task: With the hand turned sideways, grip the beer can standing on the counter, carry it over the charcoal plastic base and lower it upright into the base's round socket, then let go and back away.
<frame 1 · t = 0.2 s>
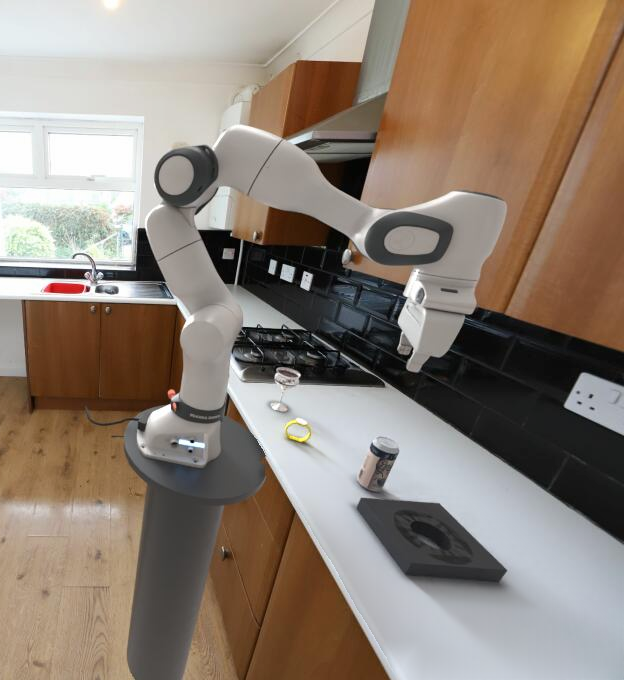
hand: (406, 361, 67), 31 cm above the worktop, tool pointing down, fingers open, 8 cm apart
wineglass: (278, 407, 108), on the worktop
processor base: (420, 541, 67), on the worktop
beer can: (368, 485, 80), on the worktop
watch: (295, 440, 94), on the worktop
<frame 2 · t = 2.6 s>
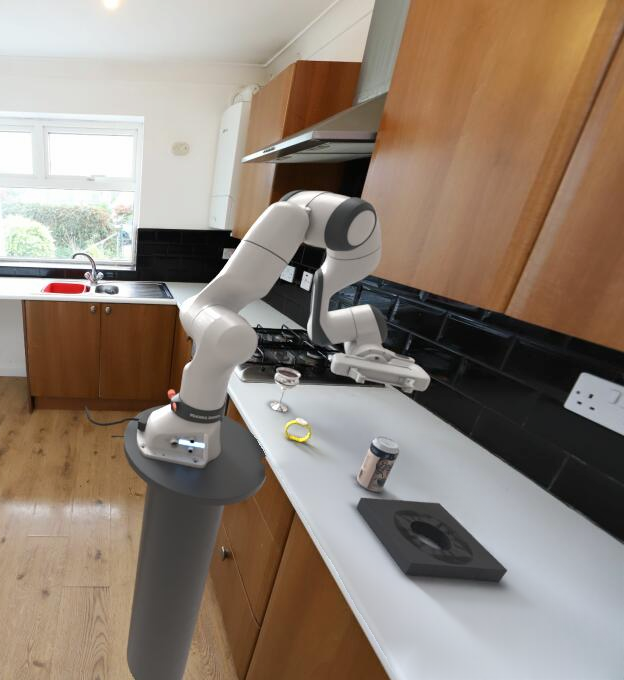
hand: (384, 384, 82), 20 cm above the worktop, tool horizontal, fingers open, 8 cm apart
nothing on the worktop moved.
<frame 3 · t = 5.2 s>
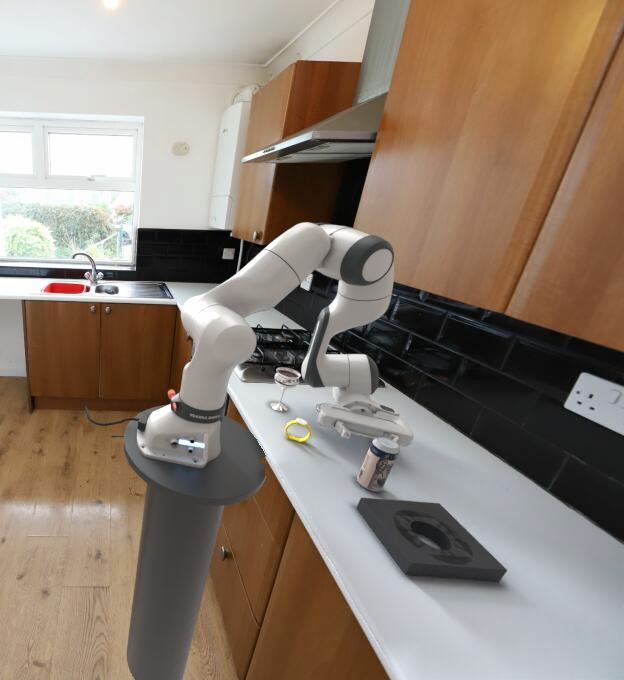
hand: (369, 441, 84), 7 cm above the worktop, tool horizontal, fingers open, 8 cm apart
nothing on the worktop moved.
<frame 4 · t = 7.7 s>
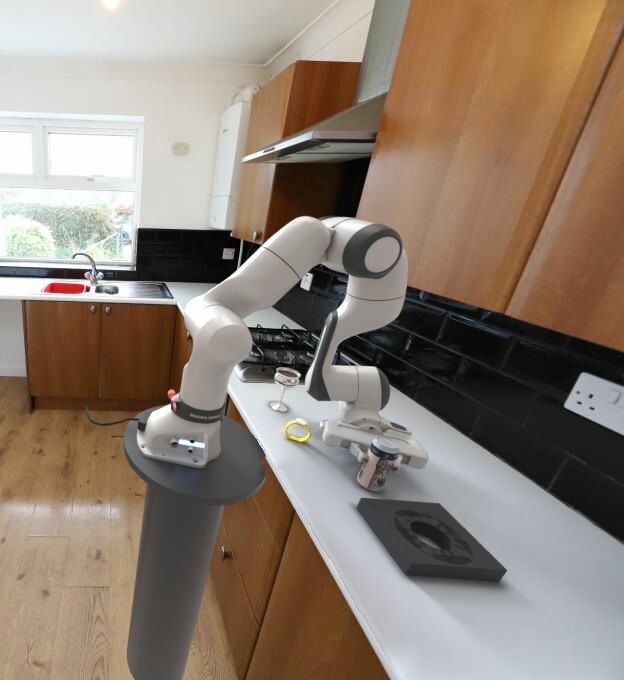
hand: (379, 464, 76), 7 cm above the worktop, tool horizontal, fingers closed on beer can, 5 cm apart
beer can: (368, 485, 80), on the worktop, touching gripper
everything else where it was.
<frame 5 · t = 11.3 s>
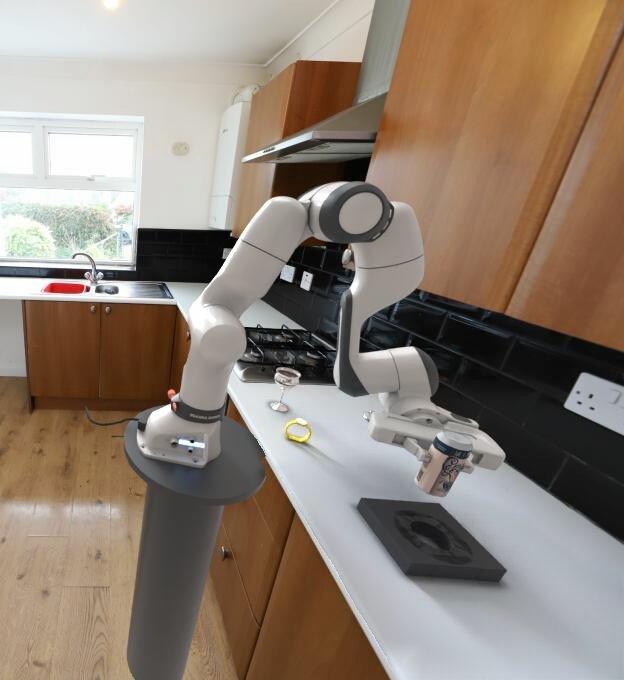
hand: (446, 464, 62), 17 cm above the worktop, tool horizontal, fingers closed on beer can, 5 cm apart
beer can: (428, 489, 65), point 10 cm above the worktop, touching gripper
everything else where it was.
when the fingers open (7 cm above the worktop, at t = 15.0 s): beer can stays where it is, resting in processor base.
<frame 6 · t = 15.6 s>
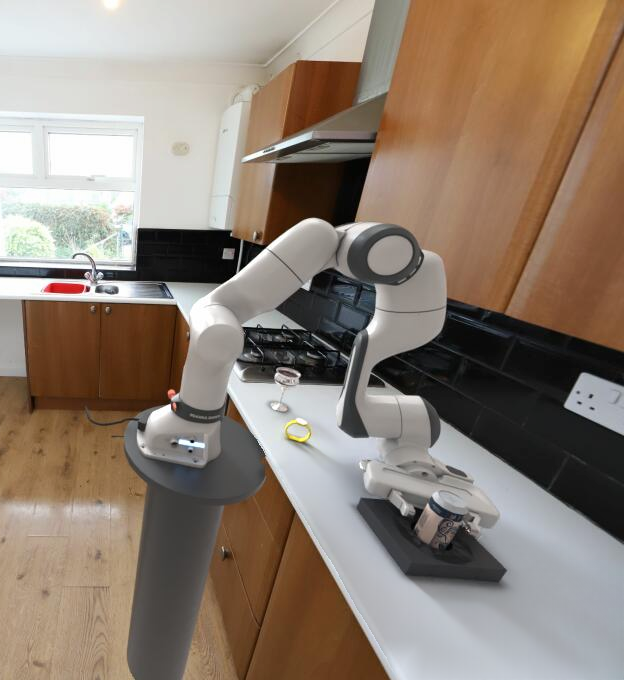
hand: (441, 524, 62), 7 cm above the worktop, tool horizontal, fingers open, 8 cm apart
beer can: (424, 547, 66), resting in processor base
everything else where it was.
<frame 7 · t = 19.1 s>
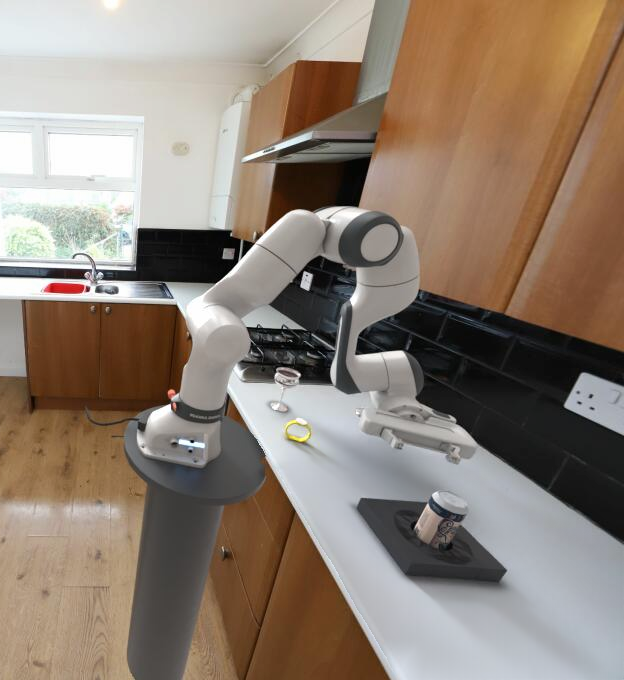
hand: (426, 453, 71), 13 cm above the worktop, tool horizontal, fingers open, 8 cm apart
nothing on the worktop moved.
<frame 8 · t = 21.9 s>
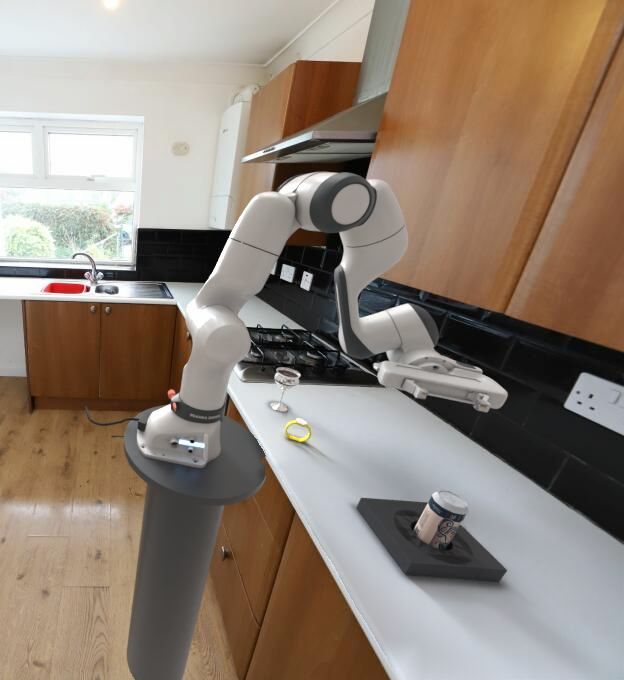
hand: (452, 401, 67), 25 cm above the worktop, tool horizontal, fingers open, 8 cm apart
nothing on the worktop moved.
at the end: beer can 0.0 cm from the target spot in the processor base, point 0.0 cm above the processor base's base; beer can tilted 0°; the gripper is holding nothing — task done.
